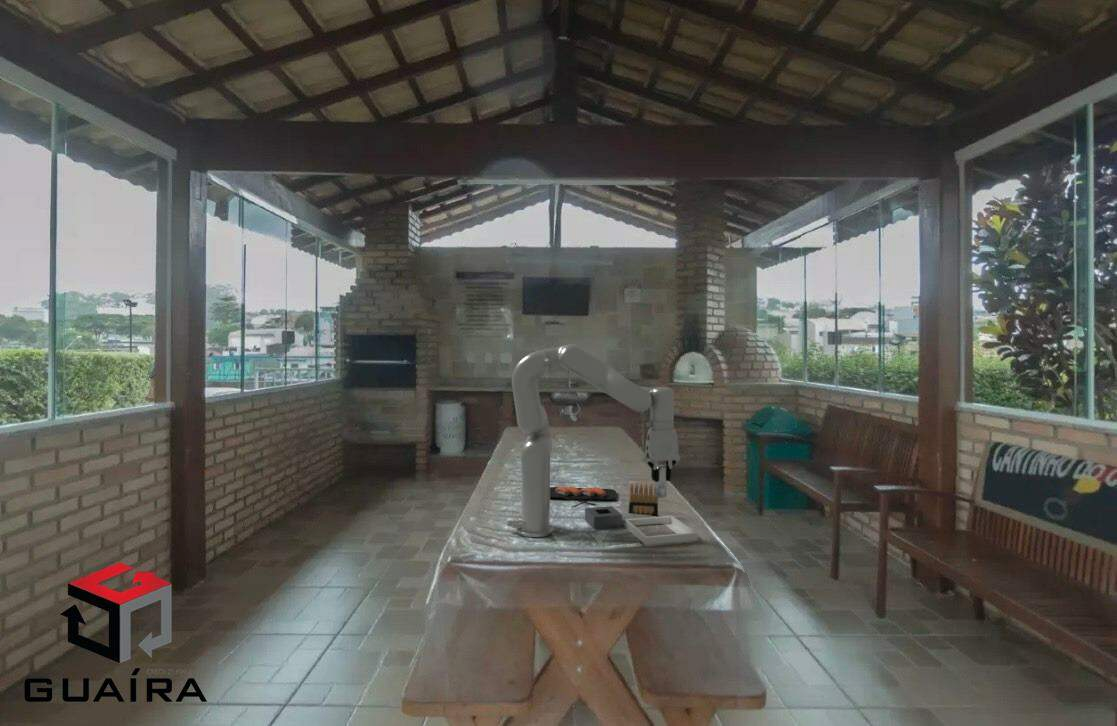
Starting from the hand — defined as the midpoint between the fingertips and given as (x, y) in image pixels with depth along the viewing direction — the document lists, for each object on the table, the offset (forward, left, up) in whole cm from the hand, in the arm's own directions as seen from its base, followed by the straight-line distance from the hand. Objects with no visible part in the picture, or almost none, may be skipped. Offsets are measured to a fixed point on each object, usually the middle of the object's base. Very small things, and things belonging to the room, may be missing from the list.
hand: (661, 480), depth 191 cm
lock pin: (0, 0, -5) cm, 5 cm away
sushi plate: (-15, +43, -19) cm, 49 cm away
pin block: (-15, +13, -18) cm, 27 cm away
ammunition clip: (+3, +20, -19) cm, 28 cm away
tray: (0, 0, -18) cm, 18 cm away
